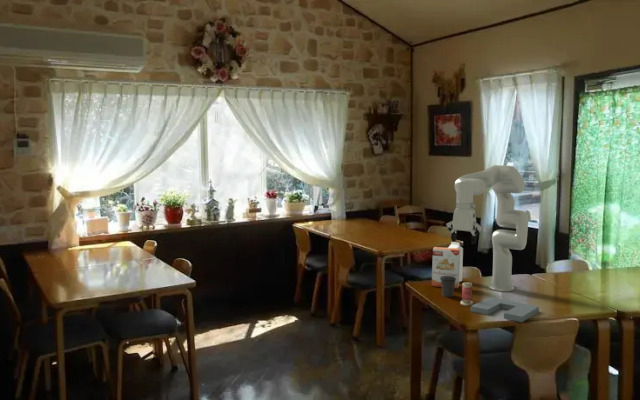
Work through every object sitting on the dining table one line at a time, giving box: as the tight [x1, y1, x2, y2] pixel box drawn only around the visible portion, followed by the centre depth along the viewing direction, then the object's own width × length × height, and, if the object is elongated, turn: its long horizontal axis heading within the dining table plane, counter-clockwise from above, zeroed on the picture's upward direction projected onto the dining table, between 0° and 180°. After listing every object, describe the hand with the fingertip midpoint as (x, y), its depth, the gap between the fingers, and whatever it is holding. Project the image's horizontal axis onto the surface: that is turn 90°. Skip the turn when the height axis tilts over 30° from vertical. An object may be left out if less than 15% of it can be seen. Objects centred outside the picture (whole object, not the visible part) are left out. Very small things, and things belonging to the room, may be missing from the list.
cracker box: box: [431, 246, 460, 289], centre depth 306 cm, size 14×6×21 cm, turn 70°
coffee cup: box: [440, 276, 456, 298], centre depth 288 cm, size 8×8×10 cm
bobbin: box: [460, 282, 474, 307], centre depth 274 cm, size 6×6×10 cm
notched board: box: [470, 297, 540, 323], centre depth 262 cm, size 20×24×2 cm
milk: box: [447, 241, 464, 283], centre depth 318 cm, size 6×6×22 cm
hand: (463, 242), depth 265 cm, fingers open, 9 cm apart
